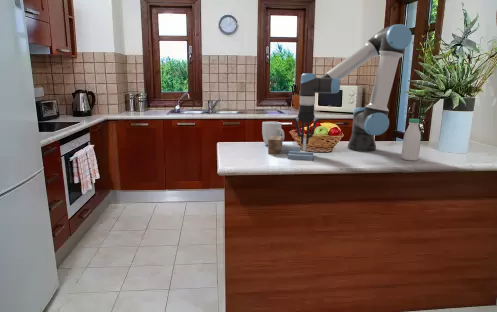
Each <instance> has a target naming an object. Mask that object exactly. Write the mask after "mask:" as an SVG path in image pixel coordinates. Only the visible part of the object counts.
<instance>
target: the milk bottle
mask: <svg viewBox="0 0 497 312" xmlns="http://www.w3.org/2000/svg"><path fill="white" fill-rule="evenodd" d="M420 121H421V119H419V118H409V120H408V124H409V125H408V126H407V128H406V130H405V132H404V134H403V140H402V149H401V159H402V160H405V161H413V162H414V161H418V160H419V156H420V148H421V139H422V135H421V134H422V133H421V130H420V127H419V124H420Z"/></svg>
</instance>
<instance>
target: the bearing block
mask: <svg viewBox="0 0 497 312" xmlns="http://www.w3.org/2000/svg"><path fill="white" fill-rule="evenodd" d="M283 141H284V140H283V136H282V135H281V136H271V137H270V138H269V139H268V145H267V149H268V150H267V155H268V154H269V155H280V154H281V153H280V149H281V145H283Z"/></svg>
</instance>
